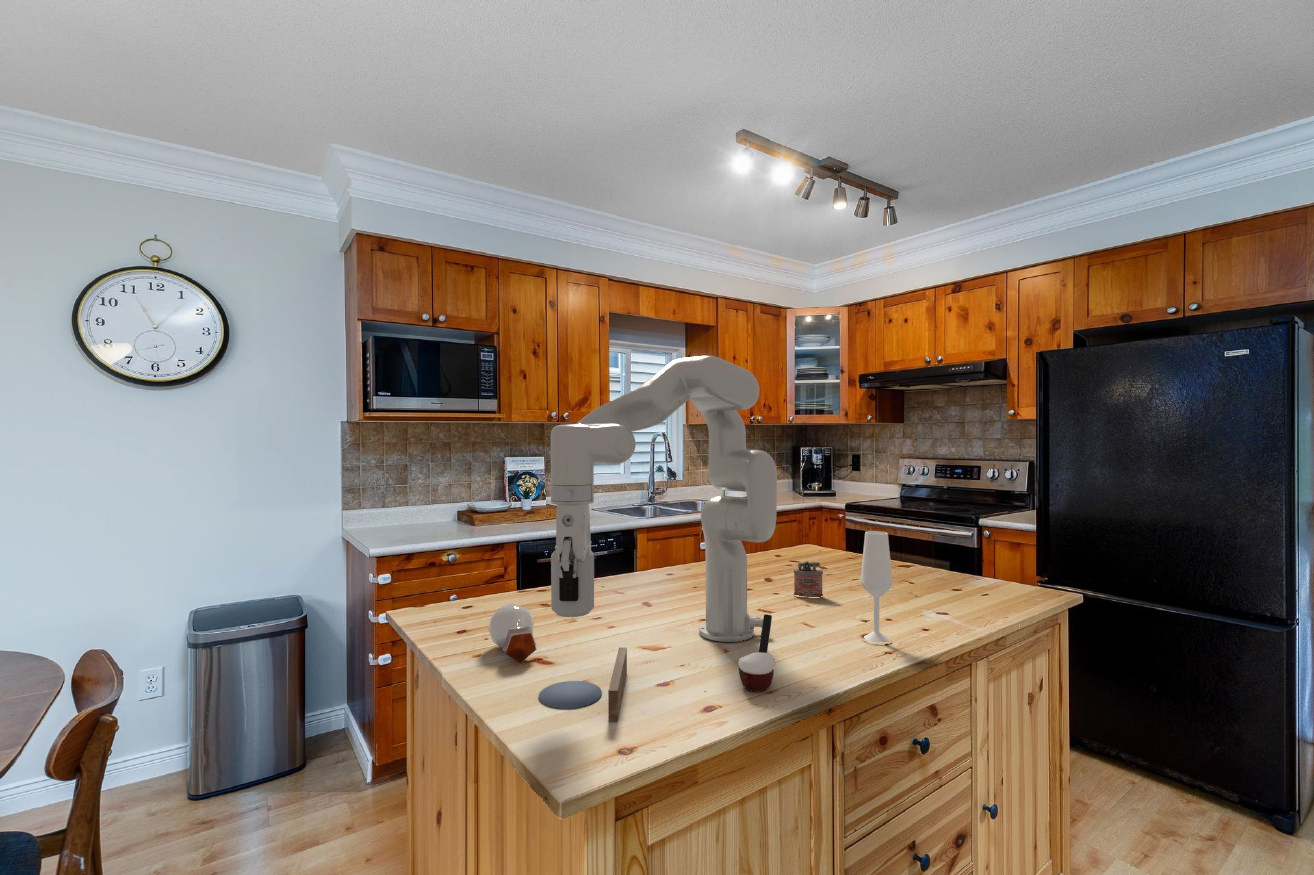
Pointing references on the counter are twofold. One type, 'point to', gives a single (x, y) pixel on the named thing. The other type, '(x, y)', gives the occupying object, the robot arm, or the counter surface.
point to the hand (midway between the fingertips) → (572, 593)
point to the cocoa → (758, 663)
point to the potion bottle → (513, 631)
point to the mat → (570, 694)
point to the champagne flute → (876, 574)
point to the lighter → (808, 580)
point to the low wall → (617, 685)
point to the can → (585, 587)
